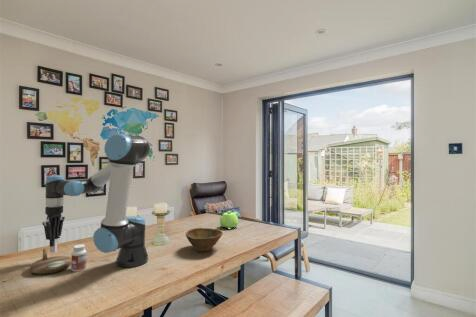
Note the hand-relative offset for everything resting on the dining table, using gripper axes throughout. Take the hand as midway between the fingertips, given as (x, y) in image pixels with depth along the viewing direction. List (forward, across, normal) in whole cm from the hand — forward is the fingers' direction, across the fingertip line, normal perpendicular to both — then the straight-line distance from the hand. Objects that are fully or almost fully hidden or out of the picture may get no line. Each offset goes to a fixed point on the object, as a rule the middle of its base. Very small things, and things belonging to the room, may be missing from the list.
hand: (53, 251), depth 136 cm
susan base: (+5, +9, +6) cm, 12 cm away
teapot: (+5, -74, +85) cm, 113 cm away
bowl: (+5, -24, +74) cm, 78 cm away
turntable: (+3, +9, +6) cm, 11 cm away
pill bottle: (+5, +8, +19) cm, 21 cm away
